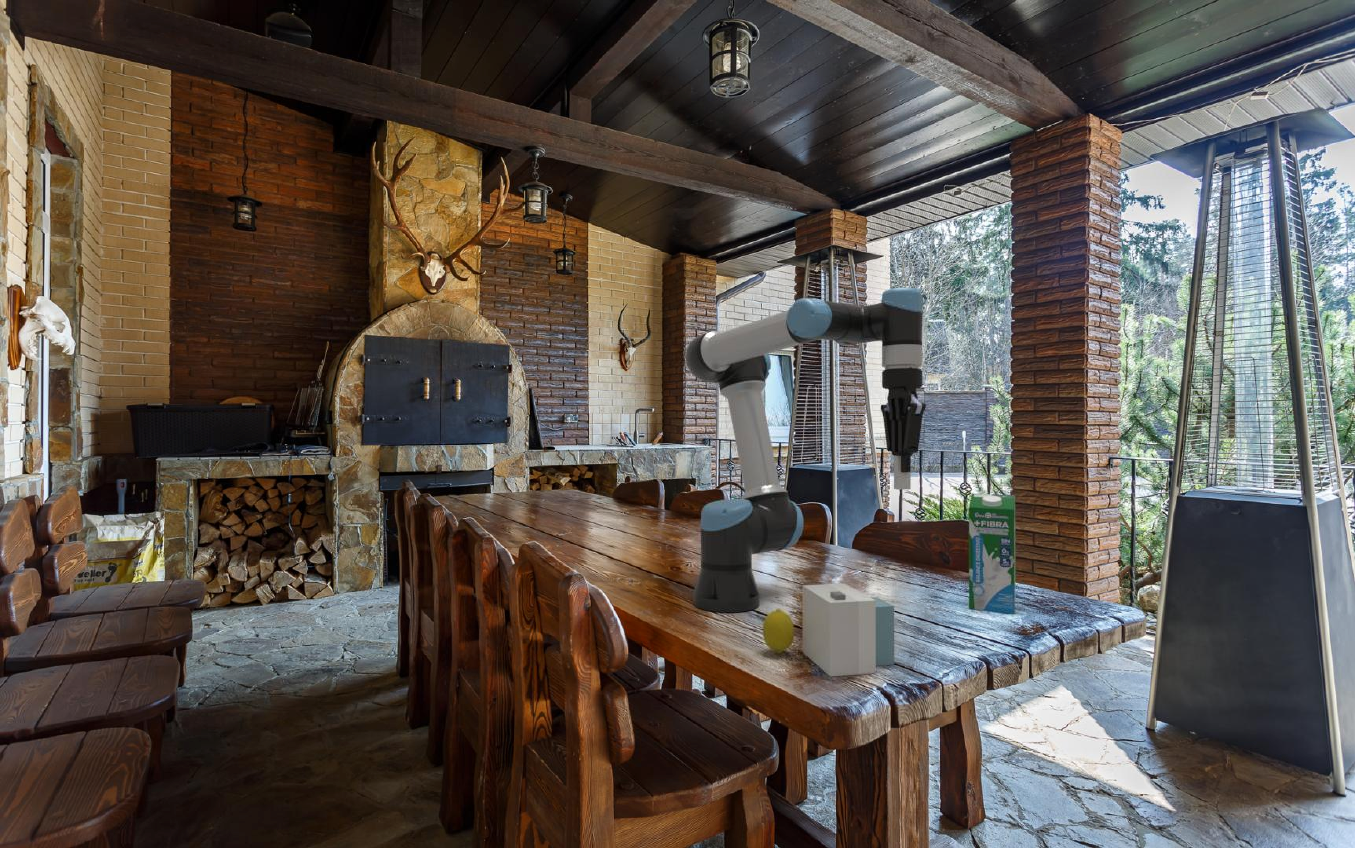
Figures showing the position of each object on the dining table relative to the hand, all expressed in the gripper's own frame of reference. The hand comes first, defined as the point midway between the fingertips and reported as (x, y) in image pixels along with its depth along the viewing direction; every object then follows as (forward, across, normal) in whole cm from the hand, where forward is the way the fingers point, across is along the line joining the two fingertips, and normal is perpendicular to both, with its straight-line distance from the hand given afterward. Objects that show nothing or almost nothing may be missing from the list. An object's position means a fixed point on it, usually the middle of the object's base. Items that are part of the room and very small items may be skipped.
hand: (902, 488), depth 131 cm
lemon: (+29, -6, +28) cm, 40 cm away
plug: (+28, -12, +14) cm, 34 cm away
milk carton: (+29, +14, -30) cm, 44 cm away
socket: (+28, -12, +18) cm, 36 cm away
